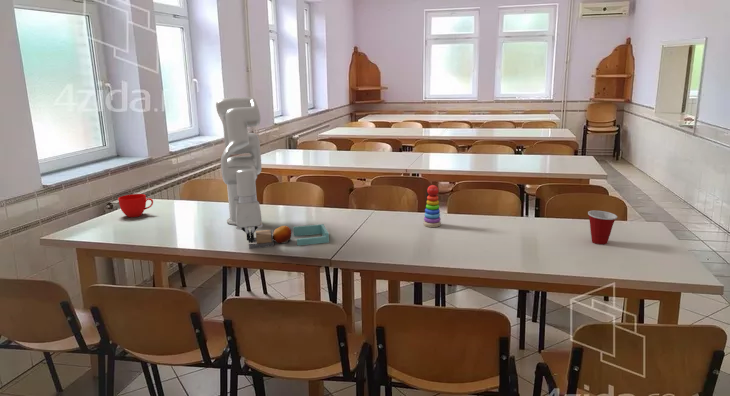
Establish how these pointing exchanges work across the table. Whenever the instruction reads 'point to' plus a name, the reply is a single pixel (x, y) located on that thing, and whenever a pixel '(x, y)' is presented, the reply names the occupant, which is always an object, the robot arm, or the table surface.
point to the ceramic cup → (133, 204)
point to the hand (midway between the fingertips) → (250, 241)
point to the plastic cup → (601, 226)
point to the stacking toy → (432, 208)
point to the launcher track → (260, 244)
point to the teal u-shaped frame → (310, 231)
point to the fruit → (282, 234)
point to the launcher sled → (264, 236)
